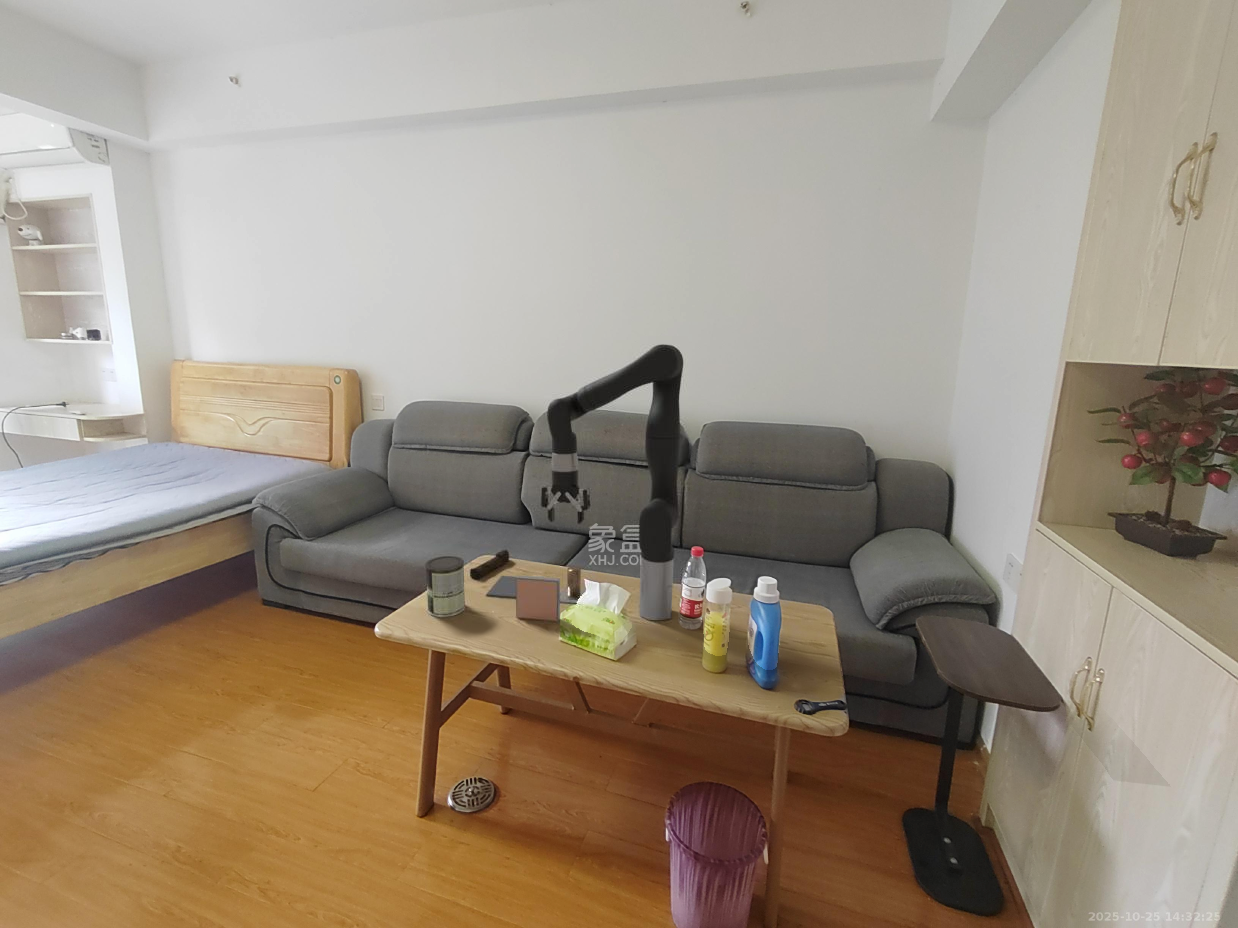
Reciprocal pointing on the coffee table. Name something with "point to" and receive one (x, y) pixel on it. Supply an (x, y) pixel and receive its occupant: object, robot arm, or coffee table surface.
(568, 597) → the brown post on base
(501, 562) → the dark brown bar
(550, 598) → the tile
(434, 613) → the coffee can
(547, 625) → the coffee table surface
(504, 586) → the rest mat
